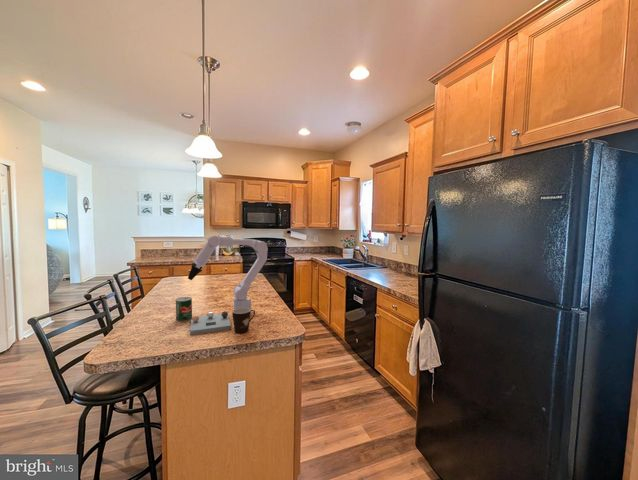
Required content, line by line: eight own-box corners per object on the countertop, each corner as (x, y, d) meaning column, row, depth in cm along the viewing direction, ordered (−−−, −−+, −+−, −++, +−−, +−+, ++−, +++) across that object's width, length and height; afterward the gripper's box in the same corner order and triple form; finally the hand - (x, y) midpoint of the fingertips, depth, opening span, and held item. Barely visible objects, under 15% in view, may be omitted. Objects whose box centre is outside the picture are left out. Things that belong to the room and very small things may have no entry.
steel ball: (213, 316, 143) (213, 310, 143) (213, 318, 140) (213, 312, 140) (207, 317, 142) (207, 311, 141) (207, 319, 139) (207, 313, 139)
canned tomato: (185, 322, 140) (185, 301, 140) (172, 320, 142) (172, 300, 141) (195, 317, 148) (195, 297, 147) (182, 315, 150) (182, 296, 149)
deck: (227, 316, 149) (227, 312, 149) (231, 329, 131) (231, 325, 131) (192, 320, 142) (191, 317, 142) (190, 335, 124) (190, 331, 124)
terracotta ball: (199, 320, 137) (199, 314, 137) (199, 322, 134) (198, 316, 134) (192, 321, 136) (192, 314, 136) (192, 323, 133) (191, 316, 133)
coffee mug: (234, 336, 123) (233, 314, 122) (230, 329, 131) (230, 309, 130) (259, 331, 128) (258, 311, 128) (254, 325, 136) (254, 306, 135)
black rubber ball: (227, 316, 144) (227, 310, 144) (228, 318, 141) (228, 312, 141) (221, 316, 143) (221, 310, 142) (221, 318, 140) (221, 312, 139)
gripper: (197, 250, 148) (183, 272, 146) (196, 253, 135) (181, 276, 133) (209, 257, 151) (195, 278, 149) (209, 259, 138) (195, 283, 135)
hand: (189, 278), depth 141 cm, fingers open, 7 cm apart
